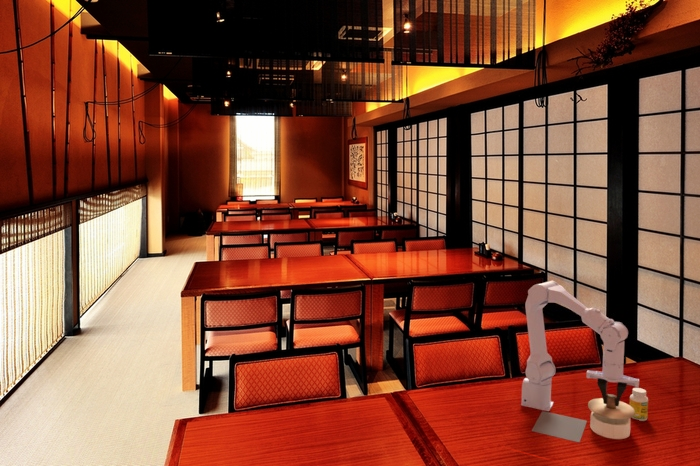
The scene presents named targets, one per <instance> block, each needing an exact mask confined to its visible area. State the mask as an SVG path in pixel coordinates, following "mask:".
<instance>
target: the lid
mask: <svg viewBox="0 0 700 466" xmlns="http://www.w3.org/2000/svg"><path fill="white" fill-rule="evenodd" d="M616 399H617V395H615V394H611V393H610V394H609V393H607V396H606V404H604V402H603V397H600V398H593V399H591V400H589V401H588V403H587V407H588V409H589V410H590V411H591V413H592V412H594V413H596V414H598V415H600V416H603V417H607V418H612V419H629V418H630V419H631V418H632V417H633V416H634V414H635V411H634V409H633V408H632V407H631V406H630V404H628V403H626V402H624V401H621V400H620V401H619V406H616ZM632 419H633V418H632Z"/></svg>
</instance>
